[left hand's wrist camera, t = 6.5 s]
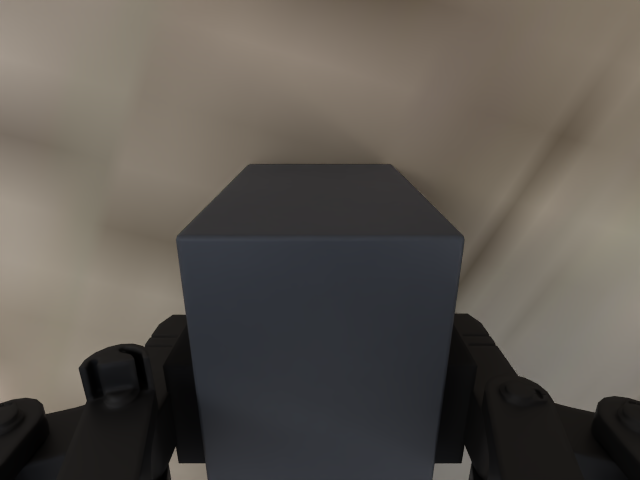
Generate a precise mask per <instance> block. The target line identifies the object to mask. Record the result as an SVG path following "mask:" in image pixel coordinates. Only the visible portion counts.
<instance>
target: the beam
mask: <svg viewBox="0 0 640 480" xmlns="http://www.w3.org/2000/svg"><path fill="white" fill-rule="evenodd" d="M176 243H177V250H178V258H179V265H180V273H181V281H182V288H183V296H184V303H185V311H186V318H187V326H188V334H189V341H190V349H191V356H192V364H193V371H194V379H195V386H196V394H197V402H198V409H199V417H200V424H201V432H202V439H203V447H204V454H205V462H206V470H207V477H208V480H432V478H433V470H434V463H435V455H436V448H437V441H438V433H439V426H440V418H441V411H442V403H443V396H444V389H445V381H446V374H447V366H448V359H449V351H450V344H451V337H452V329H453V322H454V314H455V307H456V299H457V292H458V284H459V277H460V270H461V262H462V255H463V247H464V236H463V235H462V234H461V233H460V232H459V231H458V230H457V229H456V228H455V227H454V226H453V225H452V224H451V223H450V222H449V221H448V220H447V219H446V218H445V217H444V216H443V215H442V214H441V213H440V212H439V211H438V210H437V209H436V208H435V207H434V206H433V205H432V204H431V203H430V202H429V201H428V200H427V199H426V198H425V197H424V196H423V195H422V194H421V193H420V192H419V191H418V190H417V189H416V188H415V187H414V186H413V185H412V184H411V183H410V182H409V181H408V180H407V179H405V178H404V177H403V176H402V175H401V174H400V173H399V172H398V171H397V170H396V169H395V168H394V167H393V166H392V165H391V164H249V165H248V166H247V167H246V168H245V169H244V170H243V171H242V172H241V173H240V174H239V175H238V176H237V177H236V178H235V179H234V180H233V181H232V182H231V183H230V184H229V185H228V186H227V187H226V188H225V189H224V190H223V191H222V192H221V193H220V194H219V195H218V196H217V197H216V198H215V199H214V200H213V201H212V202H211V203H210V204H209V205H208V206H207V207H206V208H205V209H204V210H203V211H202V212H201V213H200V214H199V215H198V216H197V217H196V218H195V219H194V220H193V221H192V222H191V223H190V224H189V225H187V226H186V227H185V228H184V229H183V230H182V231H181V232H180V233H179V234H178V235H177V238H176Z"/></svg>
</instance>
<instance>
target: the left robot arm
mask: <svg viewBox="0 0 640 480" xmlns="http://www.w3.org/2000/svg"><path fill="white" fill-rule="evenodd" d="M79 372H80V376H81V379H82V383H83V387H84V391H85V395H86V399H87V402H86V405H83V406H79V407H76V408H72V409H67V410H63V411H58V412H54V413H49V414H45V410H44V407H43V404H42V403H40V402H39V401H38V400H37V399H31V398H21V399H13V400H10V401H6V402H4V403H0V480H171V476H170V469H169V461H170V459H171V456H172V454H173V452H174V449H175V447H176V449H177V455H178V461H179V463H206V462H205V454H204V447H203V439H202V432H201V424H200V417H199V409H198V402H197V394H196V386H195V379H194V371H193V364H192V356H191V349H190V341H189V334H188V326H187V318H186V315H172V316H171V317H169V318H168V319H166V320H165V321H163V322H162V323H161V324H159V326H158V327H157V328H156V330H155V331H154V333H153V334H152V337H151V338H149V340H148V341H147V343H146V344H145V347H143V346H141V345H136V344H120V345H115V346H111V347H107V348H105V349H103V350H100V351H98V352H96V353H94V354H93V355H91V356H90V357H88V358H87V359H86V360H84V362H83V363H82V364H81V366H80V367H79ZM464 445H465V447H466V449H467V451H468V454H469V456H470V459H471V461H472V464H471V469H470V475H469V480H640V401H636V400H633V399H630V398H625V397H617V396H613V397H606V398H603V399H602V400H601V401H600V402H598V405H597V408H596V412H595V413H594V412H589V411H585V410H580V409H576V408H571V407H567V406H563V405H560V404H556V403H554V402H553V400H552V398H551V397H550V395H549V394H548V392H547V391H546V390H544V389H543V388H542V387H541V386H539V385H538V384H536V383H534V382H532V381H530V380H528V379H526V378H523V377H520V376H518V375H517V374H516V372H515V371H514V369H513V368H512V367H511V365H510V364H509V362H508V361H507V359H506V358H505V357H504V355H503V354H502V352H501V351H500V349H499V348H498V347H497V346H495V342H494V341H493V339H492V338H491V336H489V334H488V332H487V331H486V329H485V328H484V326H483V325H482V324H481V323H480V322H479V321H477V320H476V319H475V318H473V317H472V316H470V315H469V314H454V322H453V329H452V337H451V344H450V351H449V359H448V366H447V374H446V381H445V389H444V396H443V403H442V411H441V418H440V426H439V433H438V441H437V448H436V455H435V463H462V457H463V451H464Z"/></svg>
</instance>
